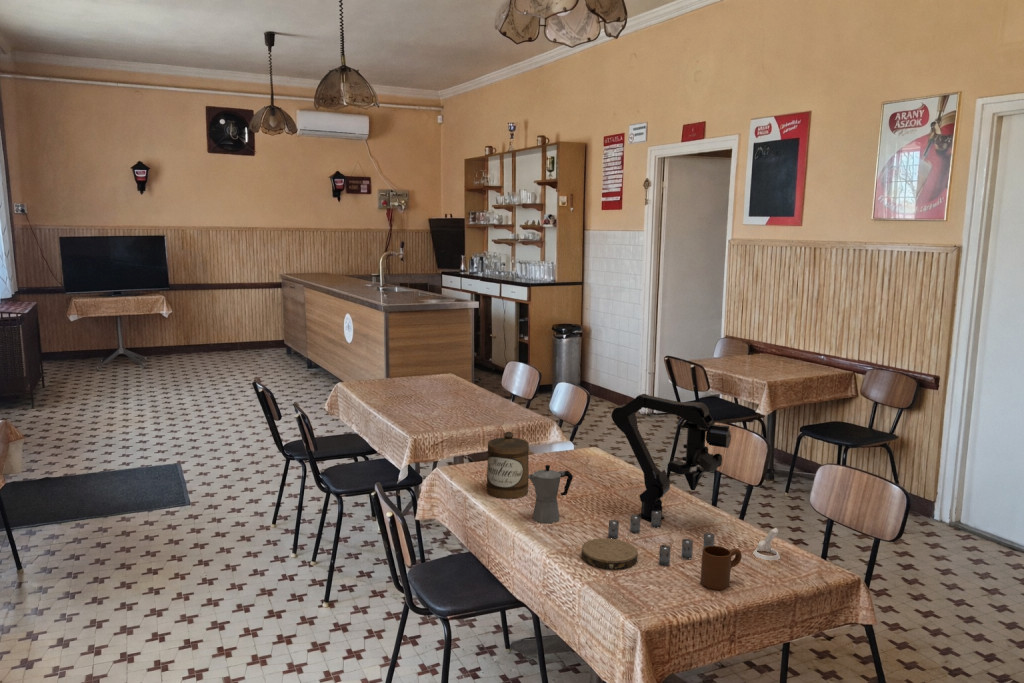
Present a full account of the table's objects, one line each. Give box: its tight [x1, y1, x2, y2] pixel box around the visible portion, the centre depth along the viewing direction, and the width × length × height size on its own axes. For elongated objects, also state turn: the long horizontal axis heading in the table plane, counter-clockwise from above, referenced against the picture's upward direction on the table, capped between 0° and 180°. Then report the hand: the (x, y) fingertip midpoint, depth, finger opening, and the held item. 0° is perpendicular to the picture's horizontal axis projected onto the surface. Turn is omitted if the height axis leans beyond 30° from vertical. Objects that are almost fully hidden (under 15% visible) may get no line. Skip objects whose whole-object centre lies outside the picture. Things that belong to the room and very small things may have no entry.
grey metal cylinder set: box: [607, 509, 715, 567], centre depth 229 cm, size 25×21×5 cm
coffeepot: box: [528, 464, 573, 524], centre depth 247 cm, size 15×9×18 cm, turn 107°
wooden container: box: [486, 431, 530, 499], centre depth 271 cm, size 15×15×22 cm
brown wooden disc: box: [581, 537, 639, 571], centre depth 218 cm, size 16×16×3 cm
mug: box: [700, 545, 743, 591], centre depth 204 cm, size 12×8×9 cm, turn 114°
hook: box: [752, 527, 781, 561], centre depth 220 cm, size 8×12×7 cm
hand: (692, 490), depth 243 cm, fingers closed
